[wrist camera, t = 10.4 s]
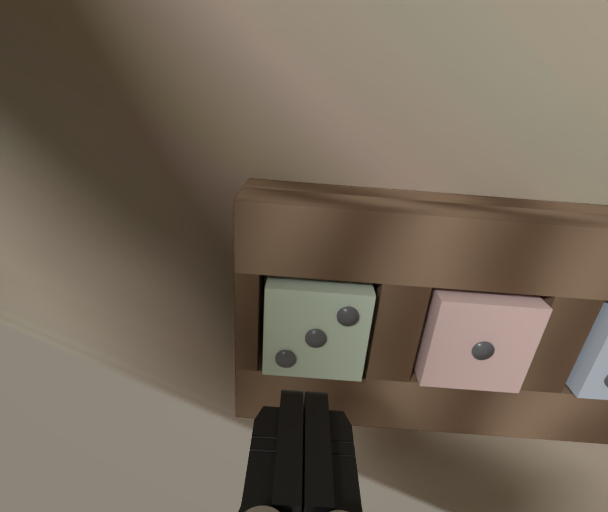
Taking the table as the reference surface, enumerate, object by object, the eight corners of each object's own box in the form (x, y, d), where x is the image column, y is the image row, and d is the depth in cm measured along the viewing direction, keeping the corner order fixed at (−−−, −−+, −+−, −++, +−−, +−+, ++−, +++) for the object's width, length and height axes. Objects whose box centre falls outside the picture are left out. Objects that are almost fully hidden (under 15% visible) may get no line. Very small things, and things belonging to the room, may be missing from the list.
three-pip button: (268, 340, 19) (261, 375, 17) (271, 261, 17) (264, 289, 15) (356, 346, 19) (361, 383, 17) (368, 268, 17) (376, 297, 15)
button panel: (247, 367, 22) (235, 416, 19) (248, 178, 17) (233, 200, 14) (610, 394, 22) (660, 447, 19) (709, 213, 17) (798, 243, 14)
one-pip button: (407, 350, 19) (420, 387, 17) (425, 273, 17) (442, 302, 15) (495, 357, 19) (519, 394, 17) (522, 280, 17) (554, 311, 15)
